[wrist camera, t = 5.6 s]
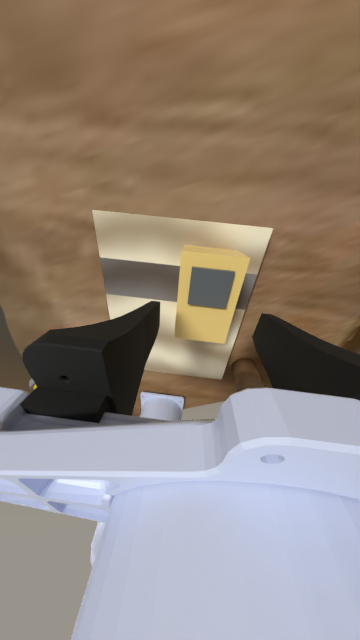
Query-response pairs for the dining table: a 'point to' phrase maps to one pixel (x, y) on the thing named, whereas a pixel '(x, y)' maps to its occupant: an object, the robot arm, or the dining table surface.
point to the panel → (171, 279)
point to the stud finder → (208, 292)
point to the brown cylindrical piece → (246, 374)
